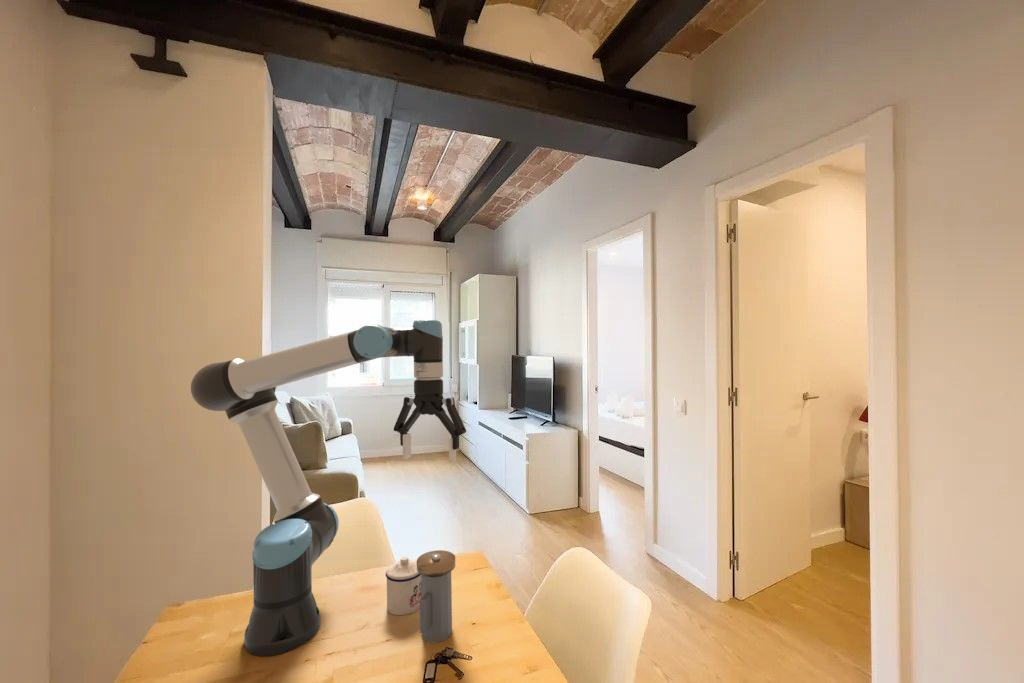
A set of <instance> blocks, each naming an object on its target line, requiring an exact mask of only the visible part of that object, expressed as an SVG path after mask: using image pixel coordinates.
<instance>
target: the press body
mask: <svg viewBox="0 0 1024 683" xmlns="http://www.w3.org/2000/svg"><path fill="white" fill-rule="evenodd" d="M452 599H453V598H452V571H451V572H449V573H447V574H444V575H441V576H424V575H422V574H421V599H420V608H419V634H421V638H422V639H424V641H425V642H429V643H439V642H443V641H445V640H447V639H448V638H450V636H451V635H452V633H453V615H452V614H453V613H452V610H453V607H452V601H453V600H452Z"/></svg>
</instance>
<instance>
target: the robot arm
mask: <svg viewBox="0 0 1024 683" xmlns="http://www.w3.org/2000/svg"><path fill="white" fill-rule="evenodd" d="M412 322H413V324H412V327H387V326H382V325H380V324H375V323H373V324H367V325H364V326H362V327H360V328H359V329H355V330H353V331H351V332H350V331H349V332H346V333H342V334H339V335H334V336H331V337H327V338H323V339H320V340H317V341H313V342H308V343H306V344H302V345H298V346H294V347H291V348H288V349H283V350H280V351H277V352H272V353H269V354H265V355H262V356H257V357H255V358H251V359H248V360H244V359H241V358H234V359H230V360H227V361H221V362H219V361H218V362H214V363H210V364H207V365H205V366H204V367H202V368H200V369H199V370H197V372H196V373H195V374H194V376H193V378H192V380H191V383H190V394H191V395H192V399H193V400H194V401H195V403H197V404H198V406H200V407H201V408H203V409H206V410H208V411H213V412H225V415H226V416H227V419H228V421H229V422H232V423H235V424H238V425H239V428H240V430H241V432H242V435H243V437H244V439H245V441H246V444H247V446H248V448H249V450H250V452H251V453H250V454H251V456H252V457H253V459H254V462H255V465H256V467H257V468H258V471H259V473H260V475H261V478H262V479H263V483H264V484H265V486H266V488H267V491H268V494H269V495H270V497H271V500H272V502H273V504H274V506H275V508H276V512H275V514H274V516H273V519H272V520H273V522H274V523H273V524H270V525H268V526H266V527H265V528H263V529H262V530H261V531H260V532H259V533H258V534H257V535H256V537H255V539H254V541H253V551H252V554H251V555H252V556H251V557H252V564H253V565H252V568H253V569H252V570H253V571H252V572H253V573H252V574H253V575H252V578H253V580H252V582H253V587H252V588H253V607H252V610H251V613H250V617H249V620H248V624H247V626H246V628H245V631H244V640H243V641H244V644H243V645H244V648H245V651H247V652H248V653H249V654H251V655H254V656H260V657H268V656H275V655H280V654H283V653H287V652H291V651H292V650H294V649H297V648H299V647H300V646H302V645H304V644H305V643H307V642H308V641H310V640H311V639H312V638H313V637H314V636H315V635H316V634H317V632H318V631H319V628H320V626H321V612H320V609H319V607H318V605H317V601H316V598H315V597H314V594H313V590H312V588H313V587H312V580H313V579H312V567H313V566H314V563H315V562H316V561H317V560H318V559H319V558H320V556H322V554H323V553H324V552H325V551H326V550H327V549H329V547H330V546H331V544H332V543H333V541H334V539H335V538H336V536H337V534H338V531H339V517H338V514H337V512H336V510H335V509H334V508H333V507H332V505H330V504H327V503H326V502H324V501H323V499H322V497H321V495H320V494H318V493H314V492H312V490H311V488H310V486H309V483H308V481H307V479H306V477H305V475H304V473H303V470H302V468H301V465H300V464H299V461H298V459H297V457H296V454H295V453H294V450H293V448H292V445H291V443H290V441H289V439H288V437H287V434H286V432H285V430H284V428H283V426H282V423H281V421H280V419H279V416H278V414H277V412H276V408H277V405H278V403H279V400H278V398H277V396H276V389H277V387H281V386H282V385H286V384H291V383H293V382H297V381H301V380H304V379H307V378H312V377H315V376H318V375H322V374H326V373H329V372H332V371H336V370H339V369H342V368H347V367H349V366H352V365H353V366H354V365H357V364H361V363H366V362H369V361H373V360H375V359H380V358H389V357H390V358H392V357H393V358H394V357H396V358H397V357H413V378H415V380H414V381H413V393H414V396H411V395H410V396H405V397H403V405H402V406H401V407H402V408H401V410H400V412H399V414H398V417H397V419H396V422H395V424H394V426H393V432H398V433H399V435H400V437H399V438H400V442H399V444H400V446H402V460H408V459H410V458H411V457H412V434H411V433H412V432H410V431H409V430H411V428H412V427H413V426H414V425H415V423H416V421H417V420H418V419H419V417H420V416H421V415H422V416H423V415H424V416H425V415H429V416H433V415H435V417H437V419H439V421H440V422H441V424H442V425H443V426H444V427H445V429H446V430H447V431H448V433H449V434H450V436H449V437H448V464H453V463H455V462H456V461H457V450H458V449H460V436H462V435H464V434H466V432H467V429H466V426H465V424H464V422H463V421H462V418H461V416H460V414H459V411H458V409H457V407H456V403H455V402H456V401H455V398H454V397H453V396H451V397H447V398H444V396H443V394H444V380H443V379H442V377H443V378H444V363H443V362H444V361H443V358H444V357H443V355H444V354H443V348H444V347H443V342H444V339H443V338H444V336H443V325H442V322H441V321H439V320H437V319H416V320H414V321H412ZM413 405H415V408H414V409H413V410H412V412H411V414H410V411H411V409H412V406H413ZM443 405H444V406H445V408H446V410H447V412H448V414H447V413H446V410H445V409H444V407H443ZM409 414H410V416H409ZM408 416H409V417H408ZM449 416H450V417H449Z"/></svg>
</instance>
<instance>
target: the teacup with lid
mask: <svg viewBox="0 0 1024 683" xmlns="http://www.w3.org/2000/svg"><path fill="white" fill-rule="evenodd" d="M385 577H386V609H387V611H388V612H389V613H390V614H392V615H393V616H406V615H410V614H413V613H415V612H417V611H418V610H420V599H421V574H420V573H418V571H417V560H415V559H414V560H413V559H409V557H407V556H403V557H401V558H400V560H399V561H397V562H393V563H392V564H391V565H390V566H388V567H387V568H386V571H385Z"/></svg>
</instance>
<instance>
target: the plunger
mask: <svg viewBox="0 0 1024 683" xmlns="http://www.w3.org/2000/svg"><path fill="white" fill-rule="evenodd" d="M416 561H417V571H418V573H420V574H422V575H424V576H441V575H444V574H447V573H449V572H451V573H452V571H453V570H455V567H456V555H455V554H454V553H453V552H451V551H448V550H441V549H440V550H431V551H428V552H425V553H423V554H421V555H419V556H418V558H417V560H416Z"/></svg>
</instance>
